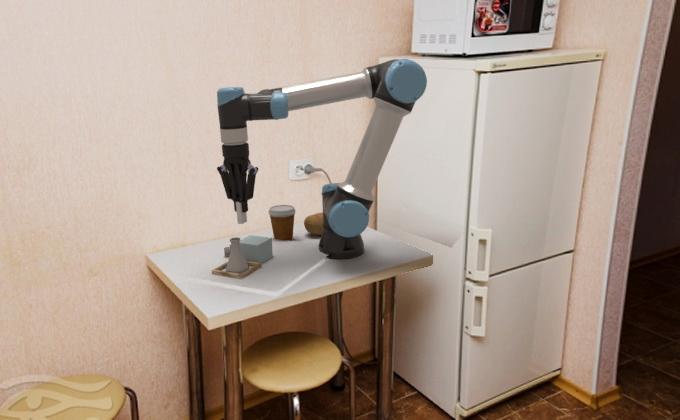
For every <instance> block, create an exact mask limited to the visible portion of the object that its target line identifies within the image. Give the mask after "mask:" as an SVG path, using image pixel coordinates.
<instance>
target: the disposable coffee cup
mask: <svg viewBox="0 0 680 420" xmlns="http://www.w3.org/2000/svg"><path fill="white" fill-rule="evenodd" d="M268 210H269V211H268V212H267V213H268V216H269V218H270V224H271V229H272V234H273V239H275V240H277V241H291V242H292V241H293V237H294V226H295V214H296V209H295V207H294V205H290V204H276V205H273V206H271V207H269V209H268Z"/></svg>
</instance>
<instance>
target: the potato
mask: <svg viewBox="0 0 680 420" xmlns="http://www.w3.org/2000/svg"><path fill="white" fill-rule="evenodd" d="M303 225H304V228H305V230H306V231H307V232H308V233H309V234H311V235H315V236H322V232H323V212H317V213H314V214H311V215H308V216H306V217H305V218H304V221H303Z"/></svg>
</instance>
